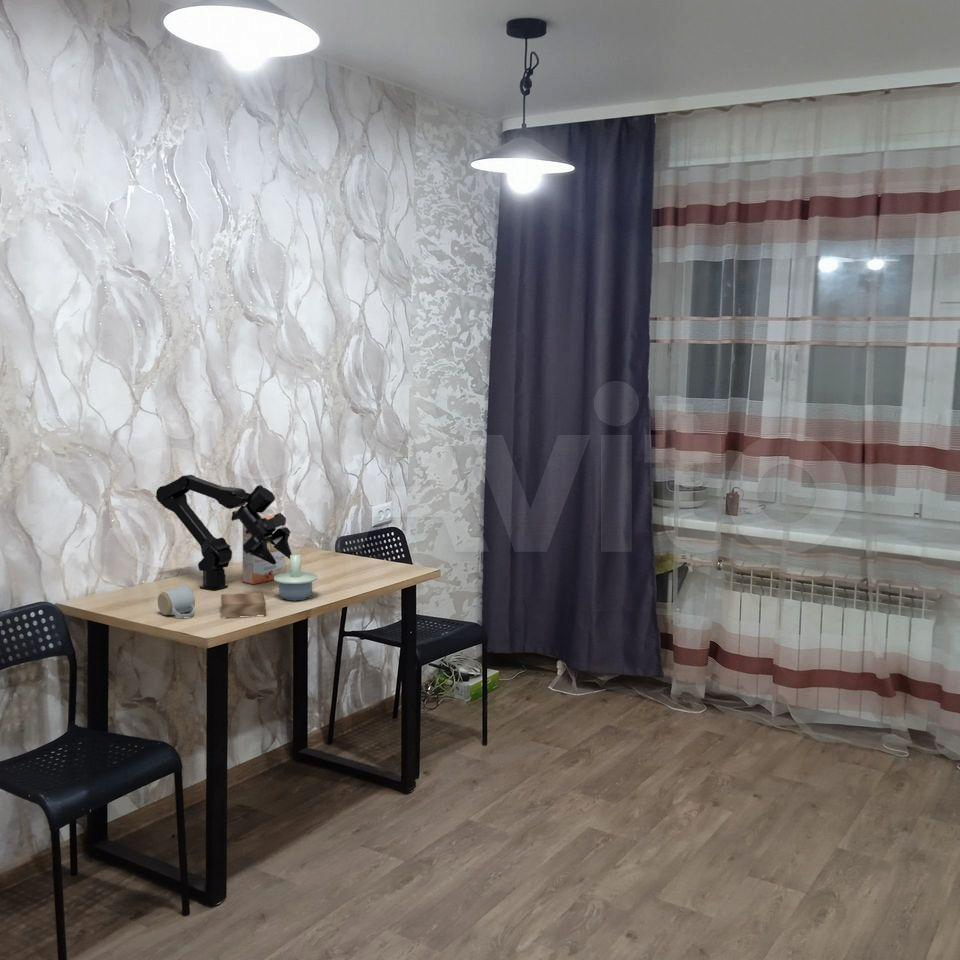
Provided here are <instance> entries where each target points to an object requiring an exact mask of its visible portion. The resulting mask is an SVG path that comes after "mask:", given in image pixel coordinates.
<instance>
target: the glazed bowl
mask: <svg viewBox="0 0 960 960" xmlns="http://www.w3.org/2000/svg"><path fill="white" fill-rule="evenodd" d="M278 594H279V596H281V597H283V599H284V598H285V599H287V600H286V601H288V600H302V601H305V600H304V599H306V600H307V599H308V596H311V595H313V582H309V583H303V584H284V583H279V582H278ZM285 599H284V600H285Z"/></svg>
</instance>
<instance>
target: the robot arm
mask: <svg viewBox="0 0 960 960" xmlns="http://www.w3.org/2000/svg"><path fill="white" fill-rule="evenodd" d="M189 491H192V492H195V493H198V494H201V495H203V496H205V497H209V498H212V499H214V500H215V501H217V502H218V504H219V505H221V506H222V507H224V508H226V509H229V510H232V509H237V508H238V509H237V510H234V511H232V512H231V513H232V514H231V521H232V522H233V521H237V520H238V521H240V523H241V524H242V526H243V525H244V526H245V528H246V529H247V530H246V531H245V532H246V533H247V534H251V535H252V536H251V537H250V538H249V539H248V541H247V542H246V543H245V544H244V545H243V544H242V551H243V550H244V551H245V552H246V554H248V553H250V555H254V556H256V557H259V558H261V559H263V560H265V561H267V562H269V563H271V564H273V565H275V564H276V561H275V559H274V557H273V556H272V554H271V553H270V551H269V550H268V548H267V542H270V543H271V544H273V545H275V546H274V548H276V549H277V550H278V551H280V552H281V553H282V554H283V555H285V556H286V558H288V559H289V560H290V555H291V554H293V553H292V550H291V548H290V544H289V537H290V536H291V533H292V531H291V530H290V529H289V528H288V527H287V526H286V527H282V528H279V529H277V530H276V527H279V526H281V525H282V526H283V525H285V521H286V522H287V517H286V516H284V514H283V513H282V512H279V513H278V512H277V514H274V515H273V516H274V517H273V518H270V519H267V518H261V517H262V516H261V515H260V513H261V514H263V513H264V512H265V511H266V510H267V509H268V508H269V507H270V506H271V505H272V503H274V501H275V499H276V496H275V494H274V493H273V492H272V491H270V490H269V489H267V488H266V487H263V485H262V484H259V485H257V486H256V487H255V488H254V490H253V491H252V492H251V493H250V492H246V490H245V489H243V488H241V487H234V486H233V487H231V486H222V485H219V484H216V483H215V482H211V481H208V480H205V479H202V478H200V477H197V476H195V475H193V474H186V475H182V476H180V477H178V478H177V479H176V480H174V481H171V482H170V483H167V484H166V485H162V486H159V487H158V488H157V490H156V491H155V492H156V493H155V494H156V495H155V498H156V500H157V502H158V503H159V504H160V505H162V507H164V508H165V509H167V510H168V511H171V512H173V513H174V515H176V517H177V518H178V520H180V522H181V523H182V525H183V526H184V527H185V528H186V529H187V531H188V532H189V533H190V534H191V536H192V537H193V538H194V539H195V541H196V542H197V543H198V544H199V546H200V550H201V556H202V557H203V558H201V560H200V561H199V562H198V563H197V566H198V567H197V568H198V570H199V571H202V577H203V578H202V584H203V585H200V586H199V588H200V589H202V588H204V589H203V590H208V589H209V591H217V589H218V590H221V588H222V589H225V587H226V588H228V587H229V585H228V584H226V573H225V568H228V566H229V564H230V561H231V560H232V558H233V551H232V549H231V547H232V546H231V545H230V544H228V542H227V541H226V539H225V538H224V537H219V538H217V537H215V536H214V535H213V534H212V532H211V531H210V530H209V529H208V528H207V527H206V525H205V524H204V522H203V521H202V520H201V519H200V518H199V516H198V514H196V513H195V511H194V510H193V509H192V508H191V506H190V505H189V504H188V497H187V493H189ZM285 519H286V520H285ZM275 530H276V531H275ZM274 531H275V532H274ZM273 532H274V533H273Z"/></svg>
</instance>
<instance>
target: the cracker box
mask: <svg viewBox="0 0 960 960" xmlns="http://www.w3.org/2000/svg"><path fill="white" fill-rule="evenodd" d="M273 517H274V515H268V516H261V518H267V519H270V518H273ZM285 520H286V521H285V525H283V526H282V525H281V526H279V527H276V530H277V529H279V528H282V527H287V518H286V519H285ZM246 530H247V529H246V528H245V526H244V525H243V524H242V546H243V545H244V544H245V543H246V542H247V541H248V539H249V538H250V537H251V536H252V535H251V534H247V533H246V532H245V531H246ZM276 530H275V531H276ZM275 531H274V532H275ZM274 532H273V533H274ZM274 546H275V545H273V544H271V543H270V542H267V548H268V550H269V551H270V553H271V554H272V556H273V557H274V559H275V561H276V564H275V565H273V564H271V563H269V562H267V561H265V560H263V559H261V558H259V557H256V556H254V555H250V553H248V554H246V552H245V551H244V550H243V549H242V582H243V583H247V584H249V585H258V584H261V583H266V581H267V582H270V581H271V580H272V581H274V576H275V575H278V574H281V573H286V561H287V560H286V559H287V557H286V556H285V555H283V554H282V553H281V552H280V551H278V550H277V549H276V548H274ZM257 583H258V584H257Z"/></svg>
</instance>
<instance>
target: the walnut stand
mask: <svg viewBox="0 0 960 960" xmlns="http://www.w3.org/2000/svg"><path fill="white" fill-rule="evenodd" d="M220 598H221V599H220V601H221V603H220V604H221V605H220V607H221V609H220V610H221V618H222V617H240V616H257V615H266V616H267V614H266V610H267V609H266V605H267V604H266V599H265V596H264V592H252V593H251V592H250V593H249V592H248V593H230V594H221V596H220Z"/></svg>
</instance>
